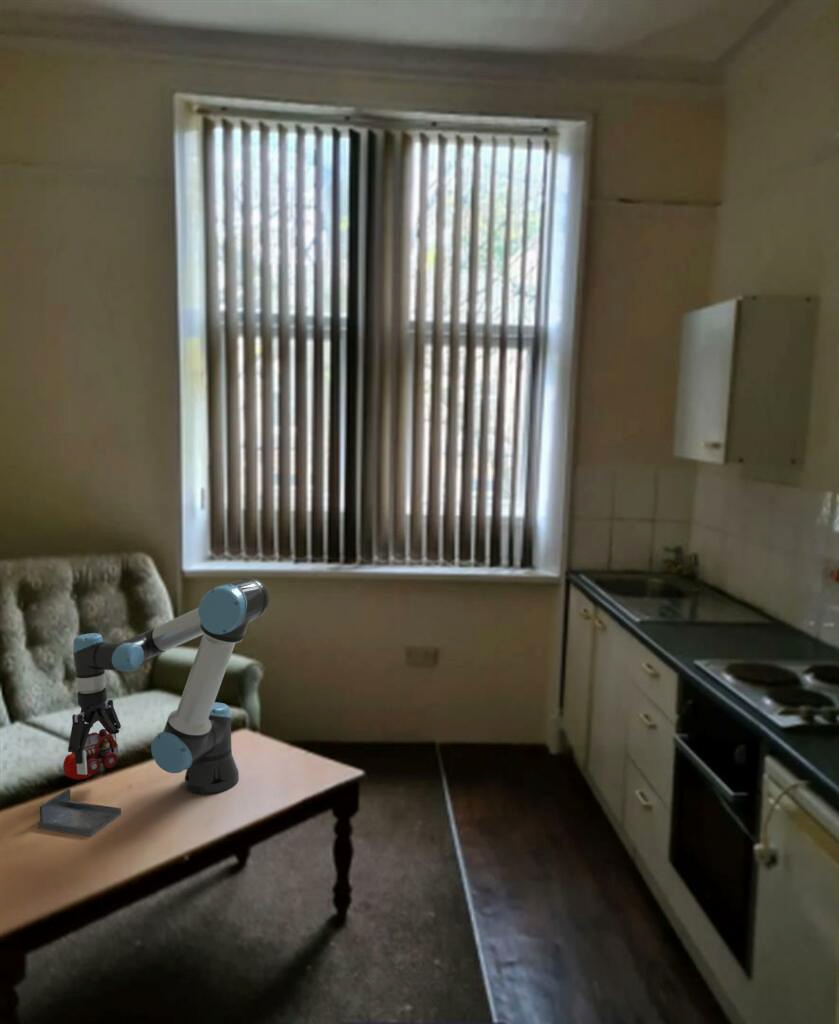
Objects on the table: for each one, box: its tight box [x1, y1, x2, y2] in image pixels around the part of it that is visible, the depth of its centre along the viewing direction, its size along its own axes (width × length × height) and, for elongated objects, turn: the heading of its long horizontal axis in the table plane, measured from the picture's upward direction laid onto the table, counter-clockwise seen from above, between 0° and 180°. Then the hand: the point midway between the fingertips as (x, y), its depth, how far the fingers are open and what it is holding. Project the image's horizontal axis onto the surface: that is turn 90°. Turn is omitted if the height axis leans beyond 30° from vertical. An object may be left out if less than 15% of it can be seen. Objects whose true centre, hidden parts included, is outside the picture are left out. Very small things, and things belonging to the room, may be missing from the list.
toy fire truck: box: [75, 728, 119, 775], centre depth 211 cm, size 7×12×10 cm, turn 140°
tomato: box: [62, 752, 93, 781], centre depth 222 cm, size 9×9×8 cm
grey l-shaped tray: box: [37, 788, 122, 837], centre depth 195 cm, size 16×12×6 cm
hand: (97, 764), depth 212 cm, fingers closed on toy fire truck, 11 cm apart
